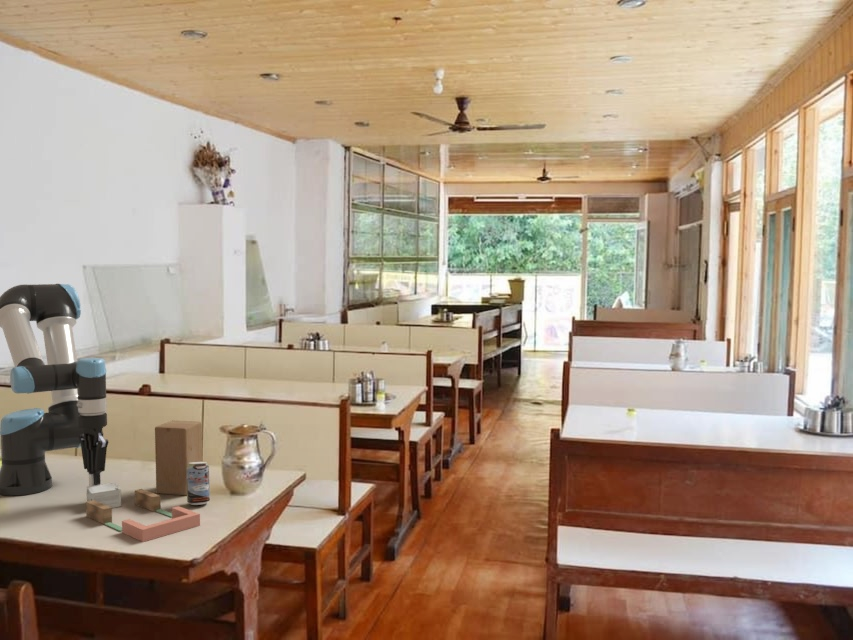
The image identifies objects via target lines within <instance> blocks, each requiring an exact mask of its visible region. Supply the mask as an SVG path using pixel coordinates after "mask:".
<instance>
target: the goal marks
mask: <svg viewBox="0 0 853 640" xmlns="http://www.w3.org/2000/svg"><path fill="white" fill-rule="evenodd" d="M155 513H159V514H162V515H164V516H166V517H169V518H171V519H172V512H169V511H167V510H164V509H162V508H161V509H159V510H156V511H155ZM105 526H107V527H109V528H110V529H113V530H116V531H118V532H119V533H120V532H122V526H120V525H117V524H116V523H113V522H112V523H111V522H109V523H105Z"/></svg>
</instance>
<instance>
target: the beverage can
mask: <svg viewBox="0 0 853 640" xmlns="http://www.w3.org/2000/svg"><path fill="white" fill-rule="evenodd" d="M210 495H211V494H210V466H209V464H208V462H207V461H202V462H191V463H189V465H188V467H187V495H186V497H187V498H186V501H187V503H189V504H190V505H191V506H198V505H206V504H208V502H209V501H210V499H211V497H210Z"/></svg>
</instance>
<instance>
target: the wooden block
mask: <svg viewBox="0 0 853 640" xmlns="http://www.w3.org/2000/svg"><path fill="white" fill-rule="evenodd" d="M202 432H203V431H202V422H201V421H193V420H190V421H188V420H174V419H173V420H170V421H167V422H164V423H162V424H160V425H157V426H155V427H154V443H155V444H154V445H155V446H154V449H155V450H154V451H155V486H156V487H155V491H156V494H159V493H160V494H161V495H172V496H174V495H176V496H187V467H188V465H189V463H191V462H203V445H202V444H203V443H202V442H203V441H202V440H203V437H202Z"/></svg>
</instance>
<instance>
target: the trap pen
mask: <svg viewBox="0 0 853 640" xmlns="http://www.w3.org/2000/svg"><path fill="white" fill-rule="evenodd" d="M171 513H172V518H171V519H166V520H163V521H159V522H155V523H151V524H148V525H144V524H142V523H140V522H137V521H135V520H133V519H131V518H128V519H124V520H121V527H122V531H121V532H122V534H124V535H127V536H128V537H131V538H134V539H135V540H138V541H140V542H142V543H144V542H147V541H150V540H154V539H158V538H162V537H164V536H169V535H173V534H175V533H178V532H181V531H186V530H189V529H193V528H196V527H200V526H201V513H198V512H196V511H193V510H190V509H187V508H185V507H182V506H173V507H171Z"/></svg>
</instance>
